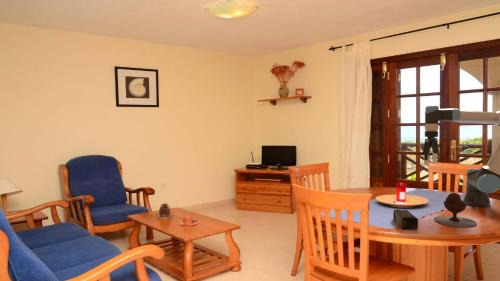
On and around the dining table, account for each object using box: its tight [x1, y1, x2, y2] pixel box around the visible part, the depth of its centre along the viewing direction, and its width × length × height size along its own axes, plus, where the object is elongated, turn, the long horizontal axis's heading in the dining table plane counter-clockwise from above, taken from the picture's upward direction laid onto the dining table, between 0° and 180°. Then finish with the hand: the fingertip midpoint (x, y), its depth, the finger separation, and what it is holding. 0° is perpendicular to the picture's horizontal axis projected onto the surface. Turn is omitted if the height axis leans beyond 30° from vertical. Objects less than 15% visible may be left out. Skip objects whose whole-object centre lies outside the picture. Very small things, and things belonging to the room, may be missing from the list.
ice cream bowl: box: [443, 192, 468, 222], centre depth 195 cm, size 11×11×15 cm
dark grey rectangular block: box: [392, 208, 419, 231], centre depth 190 cm, size 8×19×7 cm, turn 171°
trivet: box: [433, 215, 478, 228], centre depth 195 cm, size 20×20×1 cm
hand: (430, 164), depth 229 cm, fingers open, 13 cm apart
